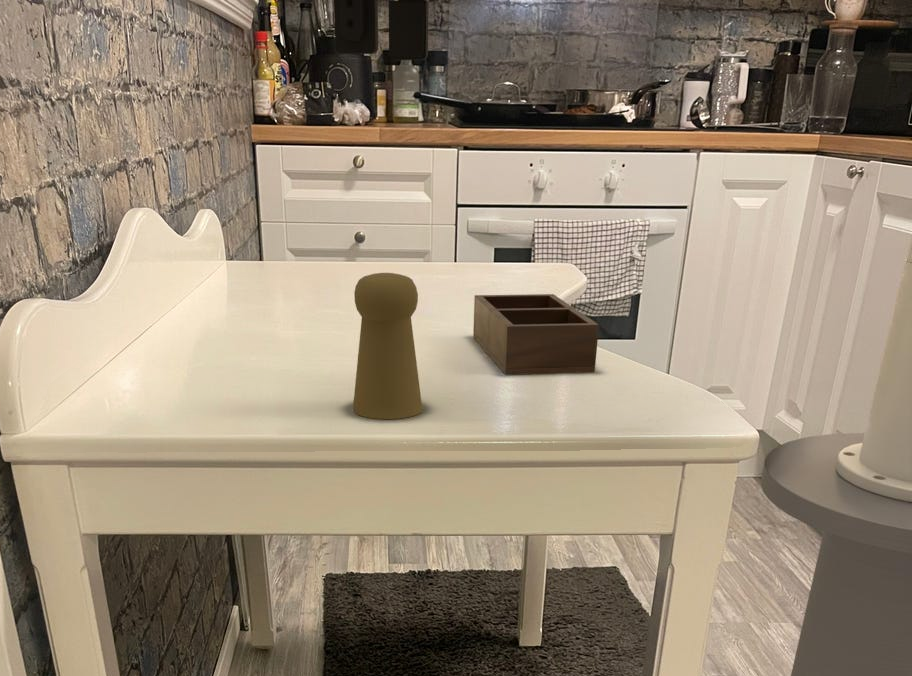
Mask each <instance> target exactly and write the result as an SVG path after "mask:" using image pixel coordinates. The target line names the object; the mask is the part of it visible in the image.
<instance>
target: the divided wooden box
mask: <svg viewBox="0 0 912 676" xmlns="http://www.w3.org/2000/svg"><path fill="white" fill-rule="evenodd" d="M473 300H474V301H473V302H474V303H473V334H472V338H473V339H474V340H475V341H476V342H477V343H478V345H479V346H480V347H481V348H482V350H483V351H484V352H485V353H486V354H487V355H488V357H489V358H490V359H491V360H492V361H493V362H494V363H495V364H496V365H497V367H498V368H499V369H500V370H501V372H503V373H504V375H507V376H508V375H542V374H544V375H545V374H547V375H548V374H581V373H583V374H584V373H585V374H586V373H595V372H596V364H597V363H596V362H597V352H598V351H597V350H598V341H599V331H600V324H599V323H598V322H595V321H594V320H593V319H592V318H590V317H588V316H587V315H585V314H584V313H583V312H581V311H579V310H577V308H575V307H573V306H572V305H571V304H569V303H568V302H566V301H564V300H563V299H561V298H560V297H559V296H557V295H556V294H554V293H540V294H537V293H536V294H533V293H532V294H531V293H530V294H529V293H528V294H475V295H474V299H473Z"/></svg>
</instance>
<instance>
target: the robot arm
mask: <svg viewBox="0 0 912 676" xmlns="http://www.w3.org/2000/svg"><path fill="white" fill-rule="evenodd" d="M378 3H379V0H333V20H334V22H333V23H334V48H335V51H336V53H337V54H340V55H375V54H376V53H378V51H379V8H378V7H379V4H378ZM388 56H389V58H390V60H391V61H425V60H427V58H428V57H429V0H388ZM877 375H878V376H877V380H876V384H875V389H874V393H873V397H872V401H871V406H870V410H869V414H868V418H867V422H866V426H865V431H864V433H865V434H864V439H863V443H859V444H855V445H851V446H849V447H846V448H844V449H843V450H842V451H840V452H839V454H838V457H837V461H836V470H837V472H838V474H839V475H840V476H841V477H842V478H843V479H845V480H846V481H847V482H849V483H851V484H853V485H854V486H857V487H859V488H861V489H863V490H866V491H868V492H871V493H874V494H877V495H880V496H884V497H888V498H892V499H896V500H900V501H905V502H910V503H912V237H911V238H910V243H909V247H908V252H907V256H906V258H905V261H904V266H903V271H902V274H901V279H900V282H899V287H898V291H897V296H896V300H895V305H894V308H893V312H892V316H891V321H890V325H889V330H888V334H887V338H886V341H885V346H884V350H883V355H882V359H881V363H880V367H879V372H878V374H877Z"/></svg>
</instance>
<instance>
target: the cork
mask: <svg viewBox="0 0 912 676" xmlns="http://www.w3.org/2000/svg"><path fill="white" fill-rule="evenodd" d="M417 288H418V287H417V285H416V284H415V282H414V280H413V279H412V278H411V277H409V276H407V275H403V274H399V273H394V272H378V273H371V274H367V275H365V276H362V277H361V278H360V279H358V281H357V283H356V285H355V287H354V304H355V307H356V311H357V312H358V314H359V315H360V317H361V320H360V321H361V322H360V330H359V331H360V333H359V341H358V342H359V343H358V354H357V363H356V373H355V383H354V395H353V405H352V412H353V413H355V414H356V415H358V416H361V417H364V418H369V419H377V420H398V419H399V420H400V419H406V418H410V417H414V416H417V415H419V414H421V413H422V411H423V403H422V396H421V395H422V394H421V388H420V378H419V370H418V362H417V356H416V355H417V354H416V347H415V339H414V331H413V322H412V316H413V315H414V313H415V311H416V310H417V307H418V301H419V293H418V289H417Z"/></svg>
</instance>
